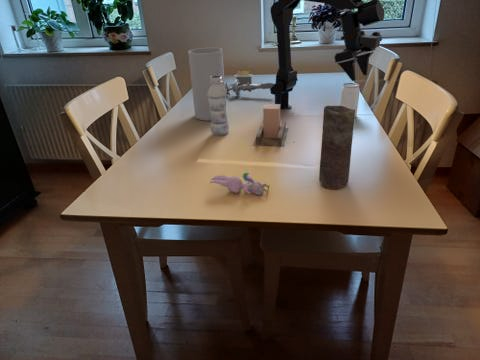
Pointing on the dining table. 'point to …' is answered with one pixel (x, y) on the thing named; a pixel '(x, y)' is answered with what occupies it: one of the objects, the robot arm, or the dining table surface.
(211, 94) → the plastic bottle
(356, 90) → the can
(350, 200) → the dining table surface
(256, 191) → the purple toy figure
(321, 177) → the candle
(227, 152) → the dining table surface
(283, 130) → the chute
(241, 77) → the platform
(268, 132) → the block
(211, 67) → the cylinder vase
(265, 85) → the spaceship
